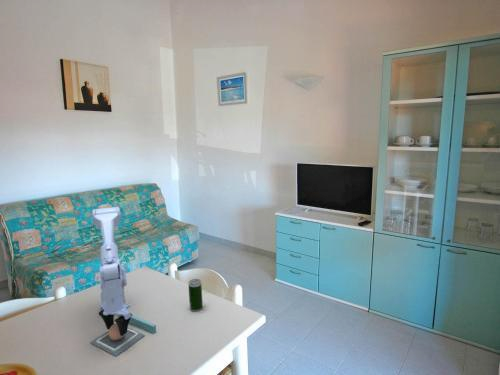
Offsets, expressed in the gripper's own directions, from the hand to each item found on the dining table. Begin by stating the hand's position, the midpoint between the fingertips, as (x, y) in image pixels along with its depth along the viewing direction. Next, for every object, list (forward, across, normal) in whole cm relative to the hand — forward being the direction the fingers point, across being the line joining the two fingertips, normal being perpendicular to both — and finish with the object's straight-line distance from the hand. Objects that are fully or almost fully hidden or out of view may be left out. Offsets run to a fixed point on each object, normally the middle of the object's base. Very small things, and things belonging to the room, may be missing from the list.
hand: (116, 331), depth 109 cm
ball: (+3, 0, 0) cm, 3 cm away
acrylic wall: (+3, -1, +9) cm, 10 cm away
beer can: (+4, +12, +29) cm, 32 cm away
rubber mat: (+3, 0, 0) cm, 3 cm away
